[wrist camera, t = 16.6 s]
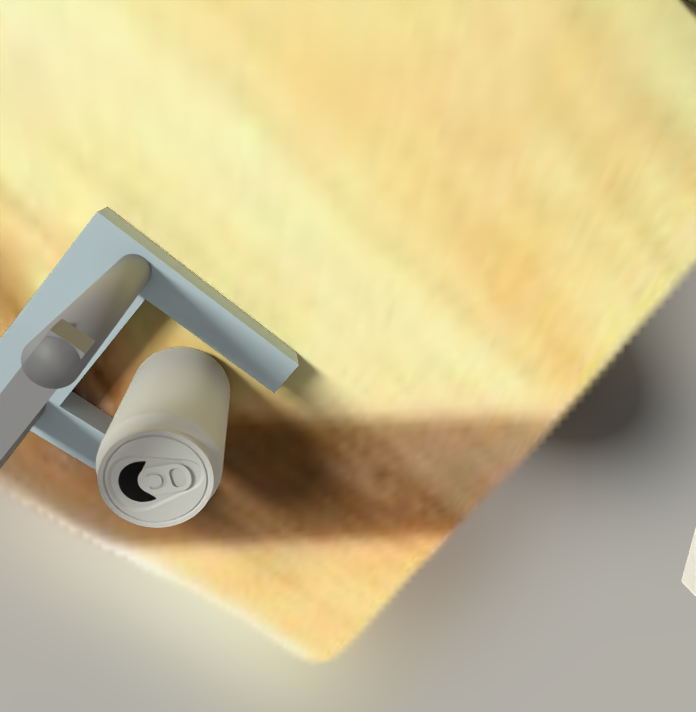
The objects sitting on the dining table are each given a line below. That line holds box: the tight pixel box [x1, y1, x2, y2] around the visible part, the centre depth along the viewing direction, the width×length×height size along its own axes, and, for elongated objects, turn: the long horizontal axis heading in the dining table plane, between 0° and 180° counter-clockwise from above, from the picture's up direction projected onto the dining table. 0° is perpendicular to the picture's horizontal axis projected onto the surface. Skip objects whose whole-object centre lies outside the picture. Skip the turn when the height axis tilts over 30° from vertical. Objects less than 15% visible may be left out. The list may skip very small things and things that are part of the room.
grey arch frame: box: [0, 207, 299, 470], centre depth 32 cm, size 15×14×18 cm
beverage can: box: [96, 347, 230, 528], centre depth 36 cm, size 6×6×12 cm
